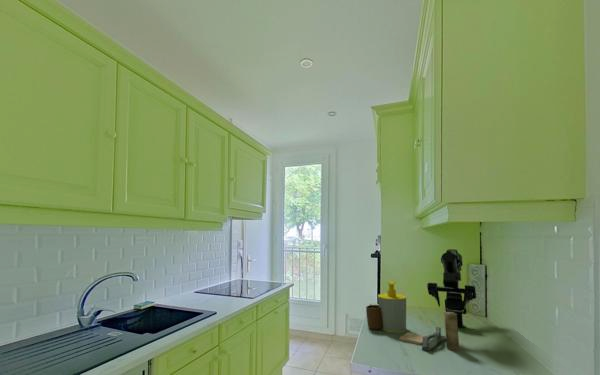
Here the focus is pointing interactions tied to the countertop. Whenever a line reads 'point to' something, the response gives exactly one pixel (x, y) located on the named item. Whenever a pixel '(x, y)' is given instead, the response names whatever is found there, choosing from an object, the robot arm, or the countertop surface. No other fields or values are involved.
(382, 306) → the soap bottle
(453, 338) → the tan wooden cylinder
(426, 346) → the gray metal frame
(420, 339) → the terracotta tile
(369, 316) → the mug
